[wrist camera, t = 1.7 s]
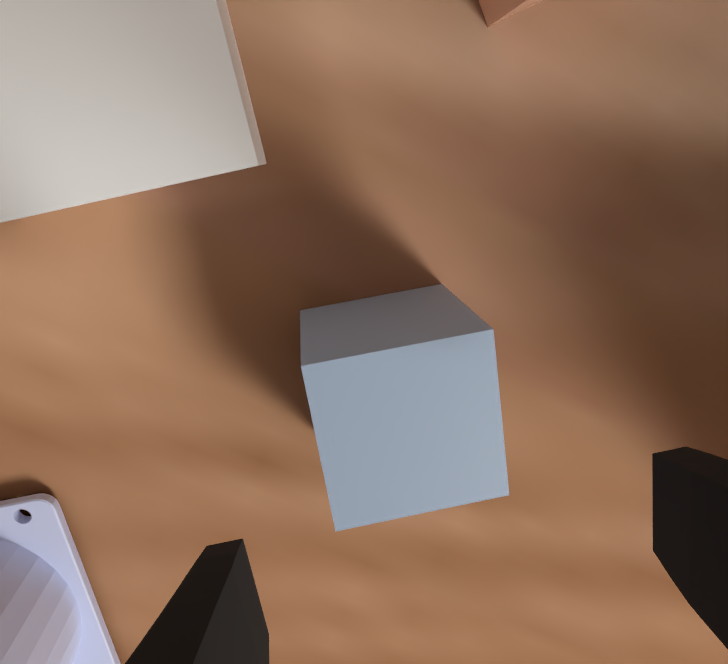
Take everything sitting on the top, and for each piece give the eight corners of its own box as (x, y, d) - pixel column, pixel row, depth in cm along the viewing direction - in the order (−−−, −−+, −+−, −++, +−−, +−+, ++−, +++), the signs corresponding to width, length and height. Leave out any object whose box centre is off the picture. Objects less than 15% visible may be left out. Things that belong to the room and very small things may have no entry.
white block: (25, 217, 16) (-59, 235, 12) (-86, -66, 14) (-229, -149, 10) (267, 163, 16) (258, 165, 13) (195, -121, 14) (158, -223, 10)
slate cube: (325, 437, 19) (335, 531, 14) (300, 310, 18) (300, 366, 13) (457, 411, 19) (509, 494, 15) (441, 283, 18) (493, 328, 13)
